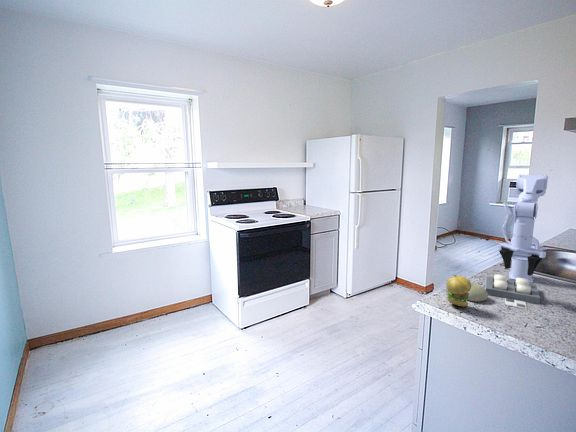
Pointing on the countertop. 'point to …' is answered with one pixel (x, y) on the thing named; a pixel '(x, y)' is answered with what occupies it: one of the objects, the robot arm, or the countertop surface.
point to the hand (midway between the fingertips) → (518, 271)
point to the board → (513, 291)
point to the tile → (515, 303)
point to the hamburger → (458, 290)
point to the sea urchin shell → (477, 293)
